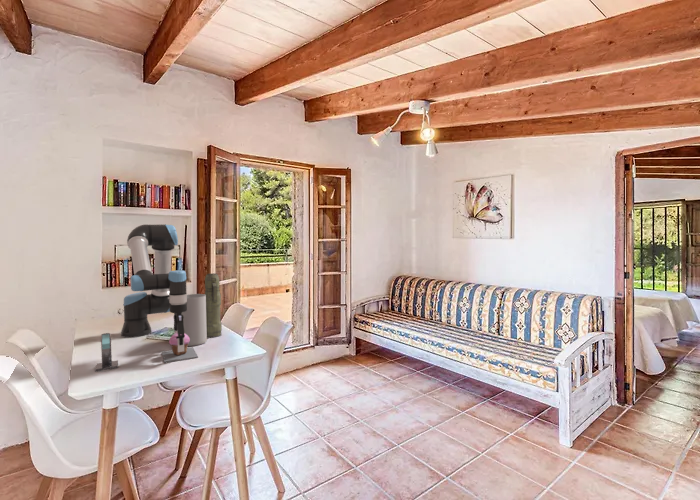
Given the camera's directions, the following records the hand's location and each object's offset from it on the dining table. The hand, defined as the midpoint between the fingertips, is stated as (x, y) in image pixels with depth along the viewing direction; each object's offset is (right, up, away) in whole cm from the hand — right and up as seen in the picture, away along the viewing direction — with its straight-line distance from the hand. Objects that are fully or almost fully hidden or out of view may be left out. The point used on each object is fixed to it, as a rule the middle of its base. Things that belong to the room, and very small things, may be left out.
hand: (179, 347), depth 178 cm
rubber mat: (0, -4, 0) cm, 4 cm away
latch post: (-25, -5, -15) cm, 29 cm away
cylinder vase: (-1, -3, +20) cm, 20 cm away
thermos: (+4, -2, +34) cm, 35 cm away
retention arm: (-21, +8, -22) cm, 31 cm away
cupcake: (0, -3, 0) cm, 3 cm away
